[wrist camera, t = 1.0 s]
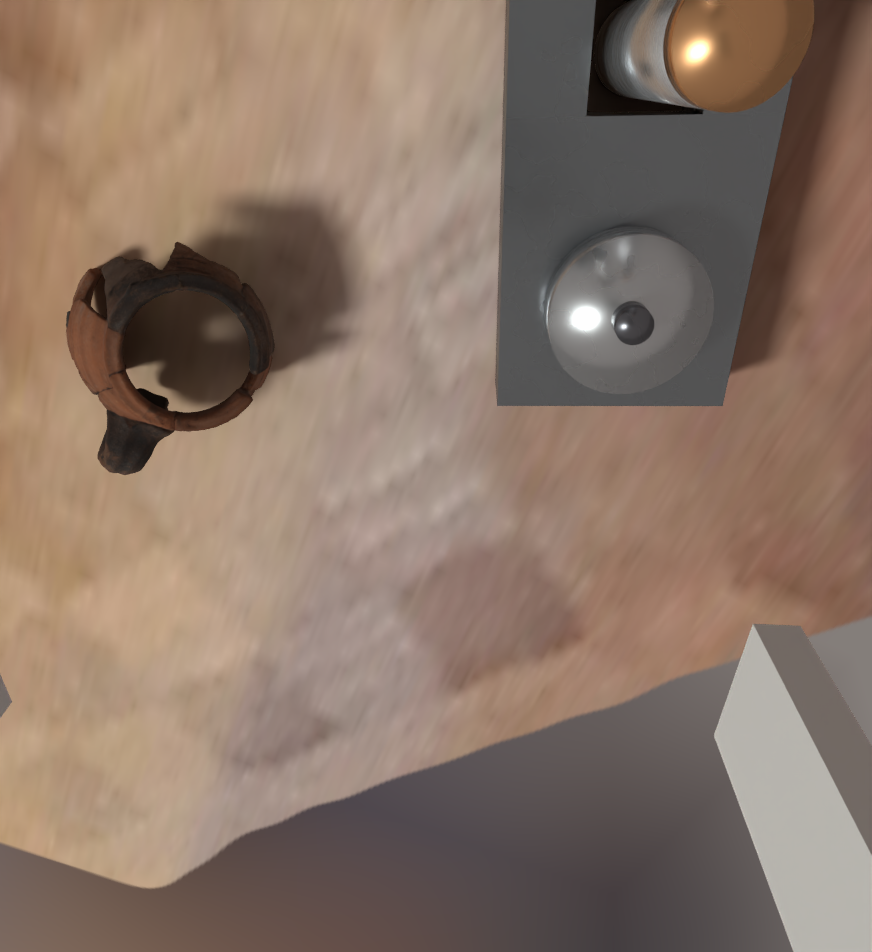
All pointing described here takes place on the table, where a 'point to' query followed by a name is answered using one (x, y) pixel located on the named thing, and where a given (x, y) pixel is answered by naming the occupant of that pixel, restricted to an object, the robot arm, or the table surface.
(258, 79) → the table surface
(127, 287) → the broken brown mug
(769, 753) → the robot arm
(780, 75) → the pin
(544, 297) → the block
